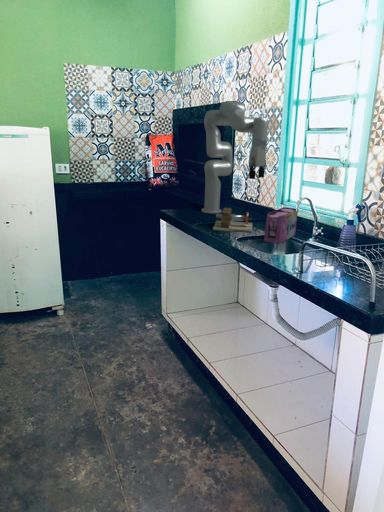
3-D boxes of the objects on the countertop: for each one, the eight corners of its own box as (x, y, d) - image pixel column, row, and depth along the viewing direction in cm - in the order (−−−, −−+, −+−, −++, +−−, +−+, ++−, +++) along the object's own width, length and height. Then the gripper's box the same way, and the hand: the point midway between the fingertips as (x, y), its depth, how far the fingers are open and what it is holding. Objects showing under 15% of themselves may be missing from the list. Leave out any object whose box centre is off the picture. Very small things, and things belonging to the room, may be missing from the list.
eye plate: (216, 222, 228) (217, 206, 226) (252, 224, 226) (253, 208, 223) (212, 229, 211) (213, 212, 209) (251, 232, 209) (253, 215, 206)
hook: (216, 220, 222) (216, 208, 220) (251, 223, 219) (252, 211, 217) (214, 223, 216) (215, 211, 214) (251, 225, 213) (252, 213, 211)
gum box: (278, 245, 189) (281, 216, 185) (262, 242, 193) (264, 214, 189) (295, 235, 208) (298, 208, 204) (280, 232, 212) (283, 206, 208)
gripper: (260, 143, 214) (258, 176, 219) (244, 143, 200) (241, 178, 205) (273, 143, 210) (270, 177, 214) (257, 143, 196) (255, 179, 201)
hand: (256, 177), depth 210 cm, fingers open, 9 cm apart
